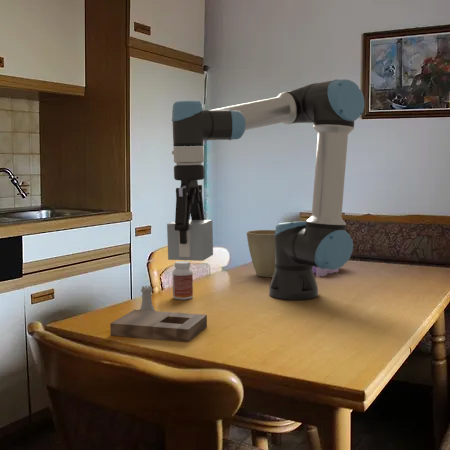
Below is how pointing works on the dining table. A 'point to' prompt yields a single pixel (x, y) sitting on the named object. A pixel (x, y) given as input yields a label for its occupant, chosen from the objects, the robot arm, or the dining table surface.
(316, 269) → the clip
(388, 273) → the dining table surface
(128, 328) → the socket board
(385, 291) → the dining table surface
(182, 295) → the pill bottle
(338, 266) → the robot arm
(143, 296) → the rook chess piece
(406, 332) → the dining table surface
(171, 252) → the block
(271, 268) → the plant pot
